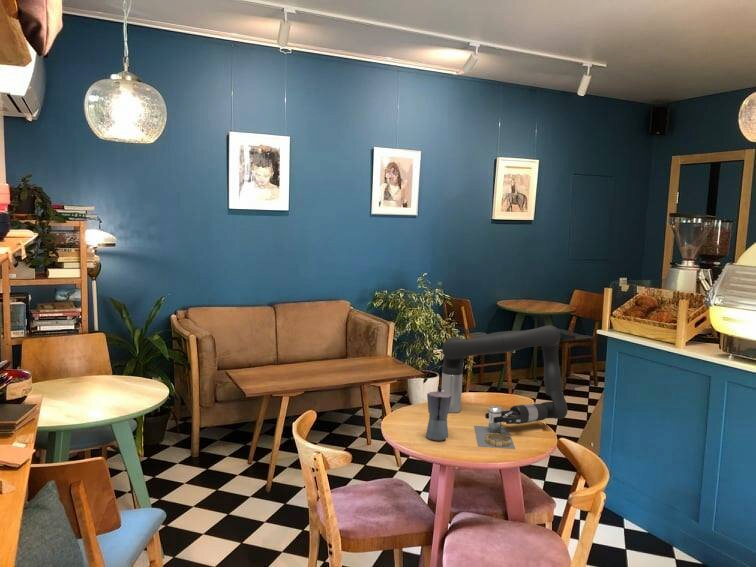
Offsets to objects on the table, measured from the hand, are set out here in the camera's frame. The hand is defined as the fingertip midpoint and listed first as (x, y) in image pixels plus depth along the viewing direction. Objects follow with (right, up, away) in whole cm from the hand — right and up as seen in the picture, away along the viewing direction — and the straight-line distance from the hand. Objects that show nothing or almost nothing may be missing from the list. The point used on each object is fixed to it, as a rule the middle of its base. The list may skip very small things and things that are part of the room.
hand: (490, 418), depth 237 cm
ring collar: (+1, -7, -10) cm, 12 cm away
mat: (+1, -7, -4) cm, 9 cm away
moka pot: (-22, -7, -5) cm, 23 cm away
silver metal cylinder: (+2, -6, +2) cm, 7 cm away
